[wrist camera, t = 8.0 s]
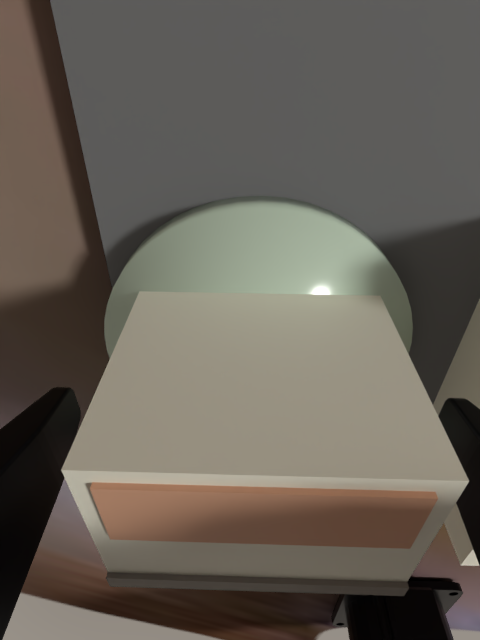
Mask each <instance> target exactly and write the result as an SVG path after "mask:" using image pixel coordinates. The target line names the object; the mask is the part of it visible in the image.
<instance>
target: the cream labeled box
mask: <svg viewBox="0 0 480 640" xmlns="http://www.w3.org/2000/svg"><path fill="white" fill-rule="evenodd" d="M448 398H465V399H467V400H469V401H470V402H471V403H473V404H474V405H475V406H477V407H478V408H479V409H480V299H479V301H478V304H477V306H476V308H475V310H474V313H473V315H472V317H471V320H470V322H469V324H468V326H467V329H466V331H465V333H464V335H463V338H462V340H461V342H460V345H459V347H458V349H457V351H456V354H455V356H454V358H453V360H452V363H451V365H450V367H449V369H448V372H447V374H446V376H445V379H444V381H443V383H442V385H441V388H440V390H439V392H438V394H437V397H436V399H435V401H434V404H433V406H434V409H435V411H436V413H437V415H439V413H440V411H441V409H442V407H443V404H444V402H445V401H446V400H447V399H448ZM444 524H445V526H446V529H447V532H448V534H449V537H450V539H451V542H452V544H453V547H454V550H455V552H456V555H457V557H458V560H459V563H460V565H468V566H479V563H478V560H477V558H476V555H475V552H474V550H473V547H472V544H471V542H470V539H469V536H468V534H467V531H466V528H465V525H464V523H463V520H462V517H461V515H460V512H459V509H458V507H457V504H455V505H454V507H453V508H452V510H451V512H450V513H449V515H448V517H447V518H446V520H445V521H444Z"/></svg>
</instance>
